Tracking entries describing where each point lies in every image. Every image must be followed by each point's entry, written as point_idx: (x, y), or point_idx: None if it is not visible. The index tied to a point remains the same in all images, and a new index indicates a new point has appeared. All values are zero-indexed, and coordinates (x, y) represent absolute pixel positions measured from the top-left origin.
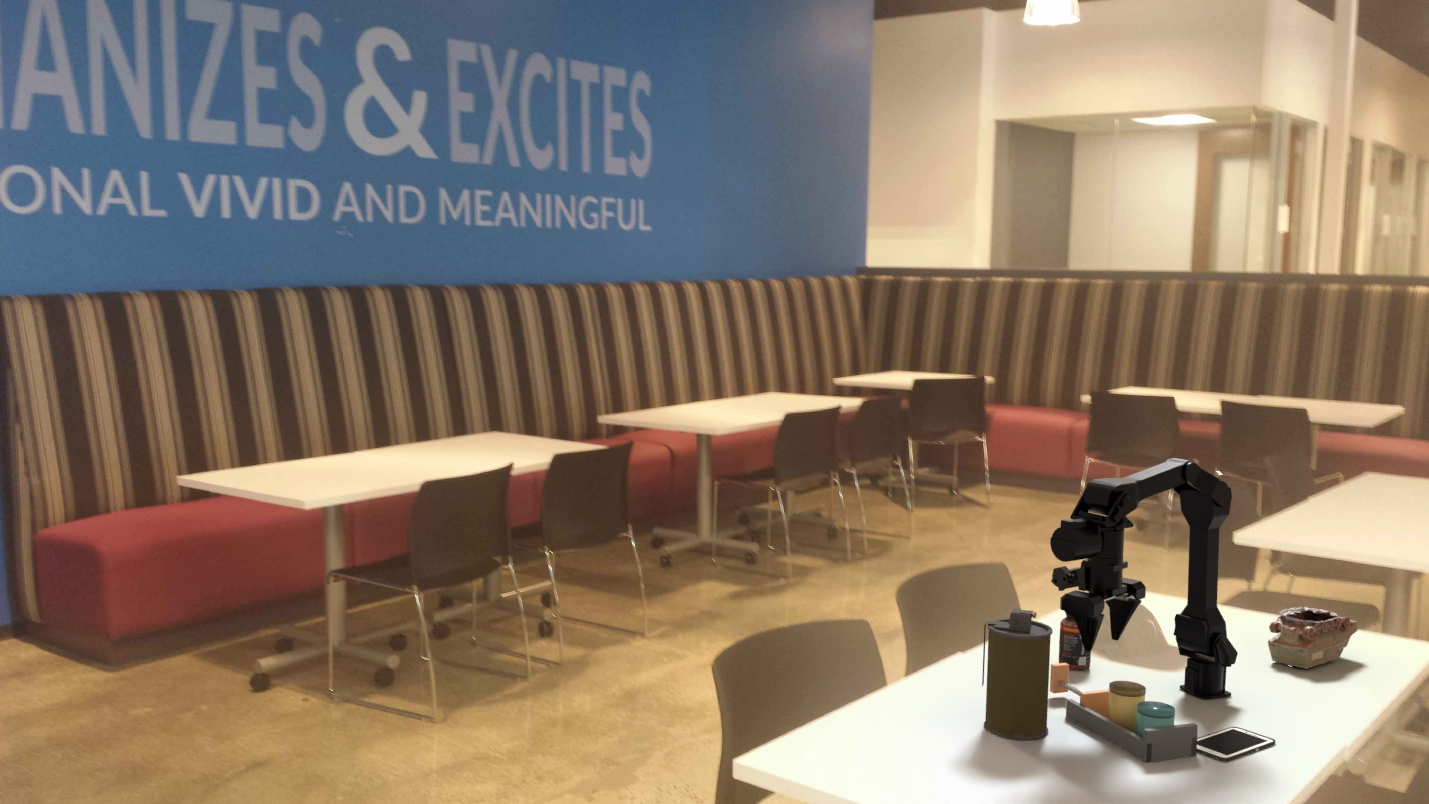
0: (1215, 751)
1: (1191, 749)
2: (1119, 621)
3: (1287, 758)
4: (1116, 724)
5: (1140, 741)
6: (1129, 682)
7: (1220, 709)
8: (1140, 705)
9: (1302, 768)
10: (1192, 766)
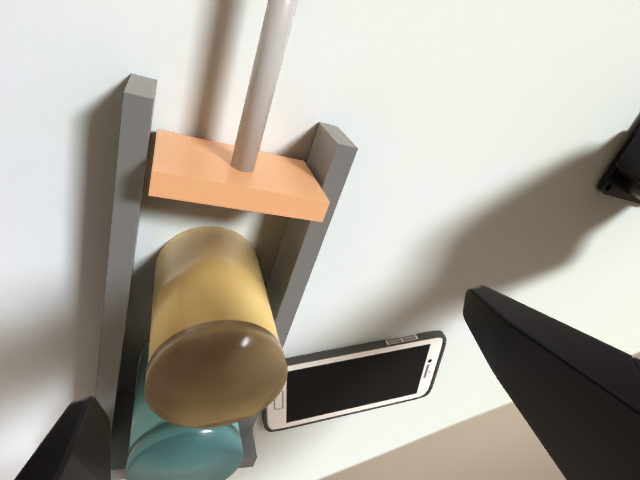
0: (285, 407)
1: None
2: (565, 430)
3: (373, 430)
4: (115, 346)
5: None
6: (266, 359)
7: (548, 245)
8: (150, 451)
9: (350, 456)
10: None
